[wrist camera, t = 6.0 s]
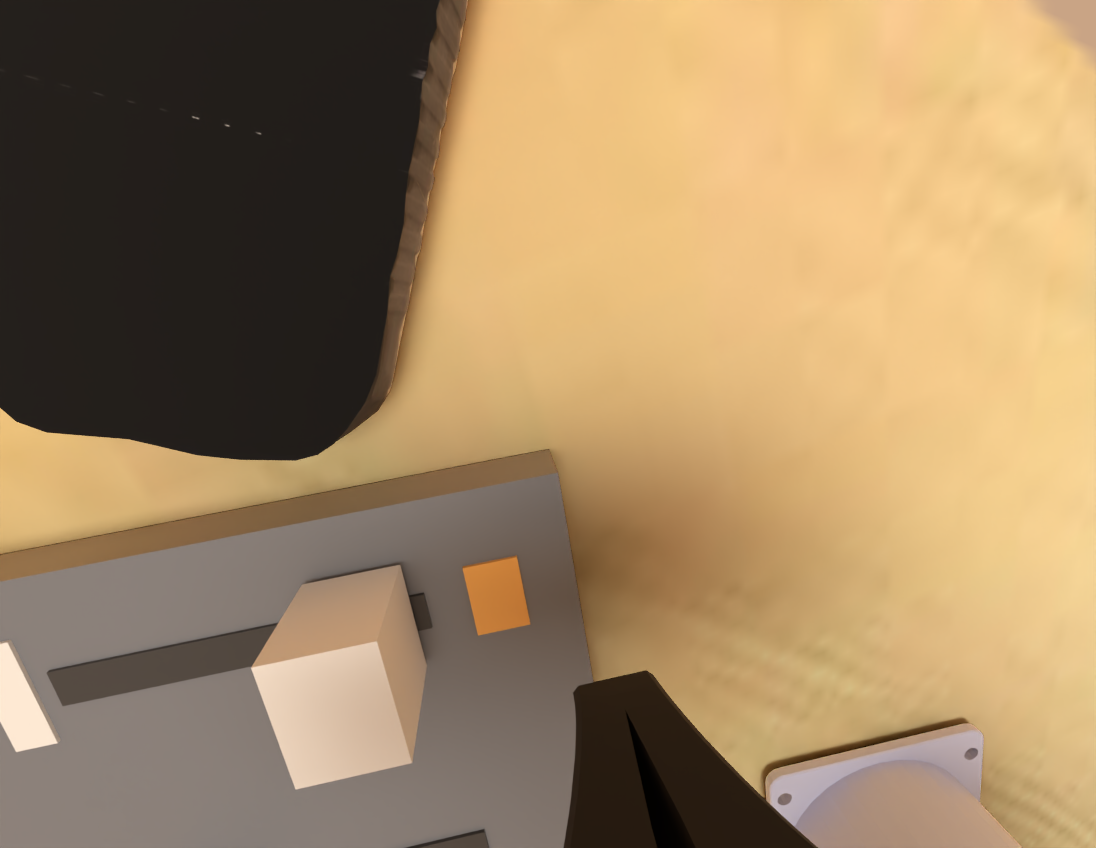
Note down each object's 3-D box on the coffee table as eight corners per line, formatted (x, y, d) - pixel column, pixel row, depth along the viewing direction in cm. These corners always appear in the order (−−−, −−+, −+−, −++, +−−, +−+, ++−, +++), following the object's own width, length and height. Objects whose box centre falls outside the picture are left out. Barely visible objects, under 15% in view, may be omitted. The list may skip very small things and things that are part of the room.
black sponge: (390, 441, 15) (361, 488, 12) (53, 368, 14) (-95, 396, 10) (538, -262, 12) (561, -497, 8) (112, -457, 10) (-79, -839, 7)
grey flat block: (613, 823, 19) (628, 887, 17) (113, 943, 18) (66, 1027, 16) (548, 449, 15) (558, 473, 13) (-85, 571, 14) (-179, 618, 12)
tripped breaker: (426, 666, 14) (412, 763, 11) (334, 685, 14) (295, 789, 11) (400, 564, 13) (376, 641, 11) (302, 584, 13) (251, 667, 10)
